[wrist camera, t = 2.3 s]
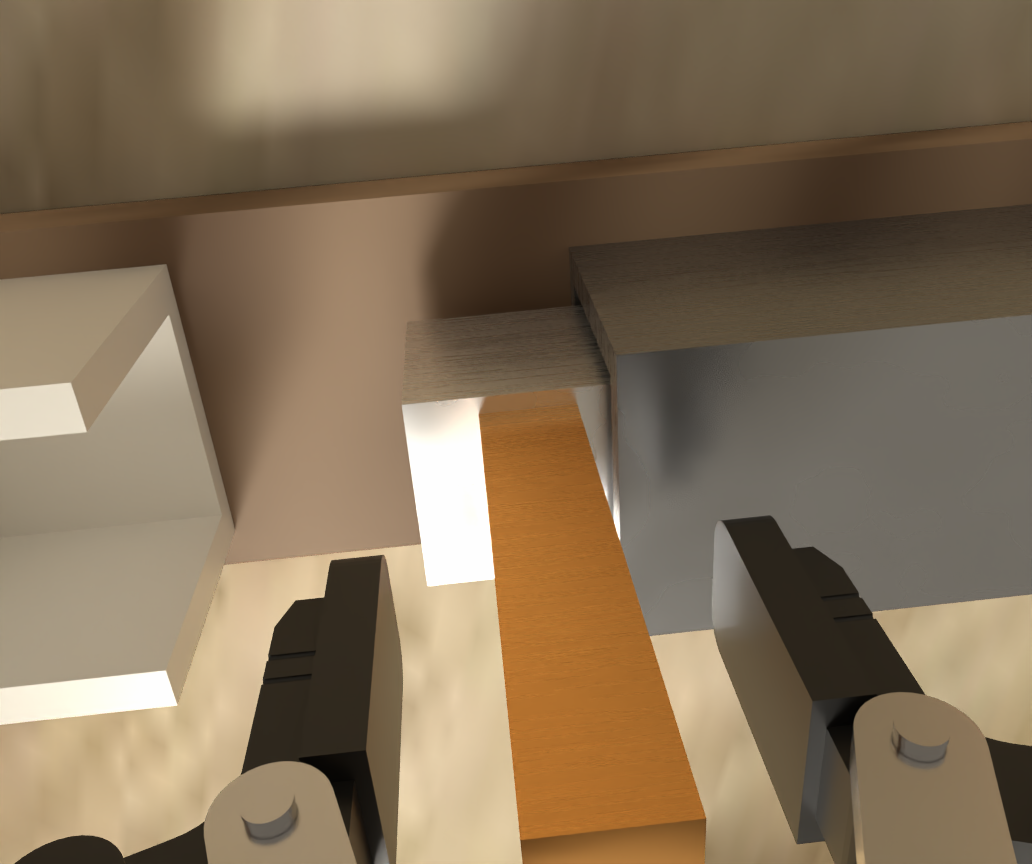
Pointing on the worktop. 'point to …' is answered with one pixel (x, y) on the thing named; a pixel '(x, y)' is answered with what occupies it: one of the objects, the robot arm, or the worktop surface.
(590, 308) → the grey rectangular box
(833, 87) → the worktop surface
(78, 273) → the socket
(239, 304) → the board
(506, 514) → the slide bolt
